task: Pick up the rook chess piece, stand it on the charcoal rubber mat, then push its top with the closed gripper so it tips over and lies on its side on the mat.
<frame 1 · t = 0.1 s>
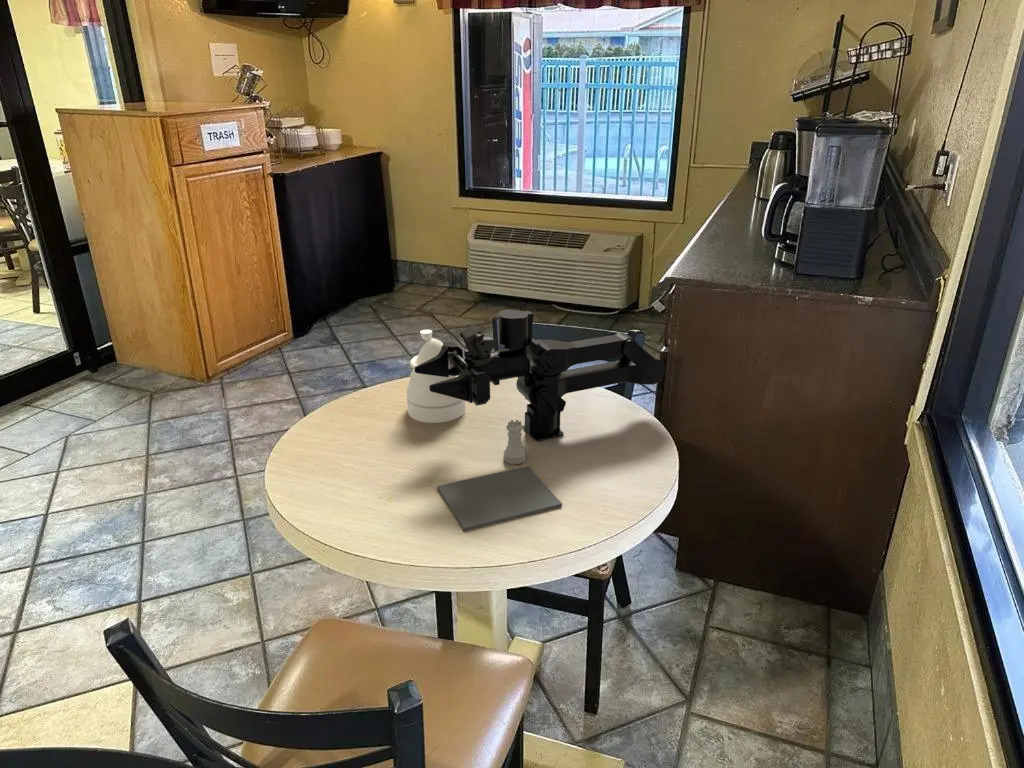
hand: (421, 378, 133), 17 cm above the table, tool horizontal, fingers open, 9 cm apart
honey pot: (436, 410, 159), on the table
rubber mat: (498, 497, 126), on the table
rook chess piece: (514, 460, 139), on the table
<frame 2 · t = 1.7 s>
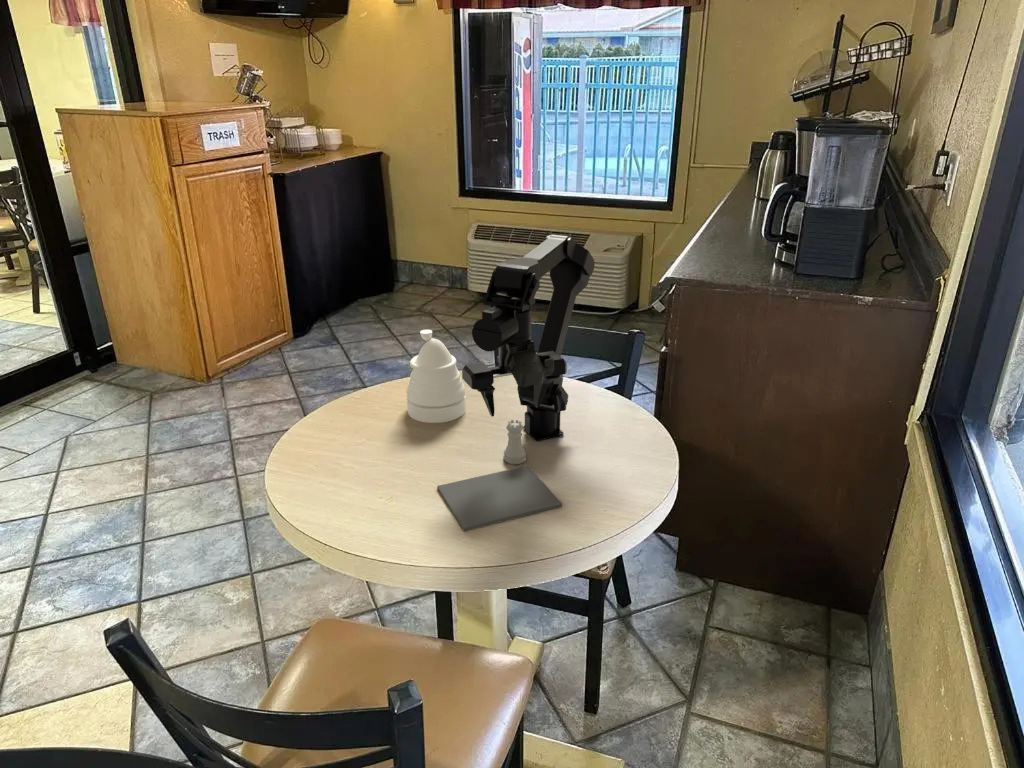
hand: (514, 411, 134), 10 cm above the table, tool pointing down, fingers open, 9 cm apart
nothing on the table moved.
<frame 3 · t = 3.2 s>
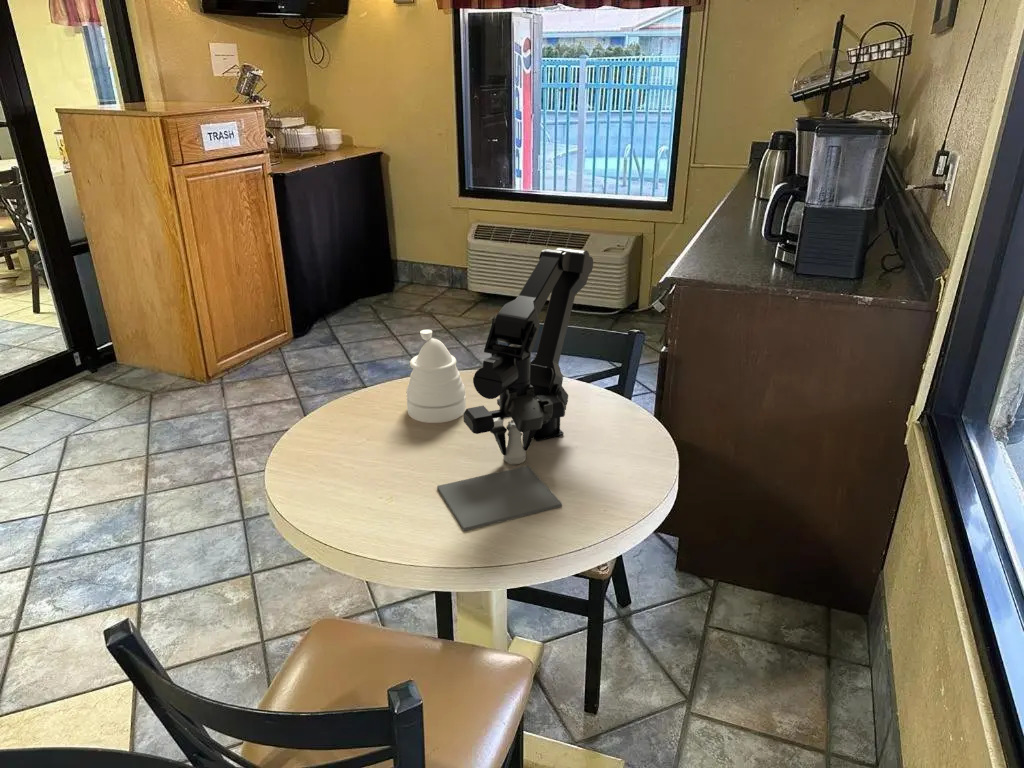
hand: (514, 452, 138), 2 cm above the table, tool pointing down, fingers closed on rook chess piece, 4 cm apart
rook chess piece: (514, 460, 139), on the table, touching gripper
everything else where it was.
when the fingers open (4 cm above the table, at t = 7.0 s): rook chess piece drops 1 cm, resting on rubber mat.
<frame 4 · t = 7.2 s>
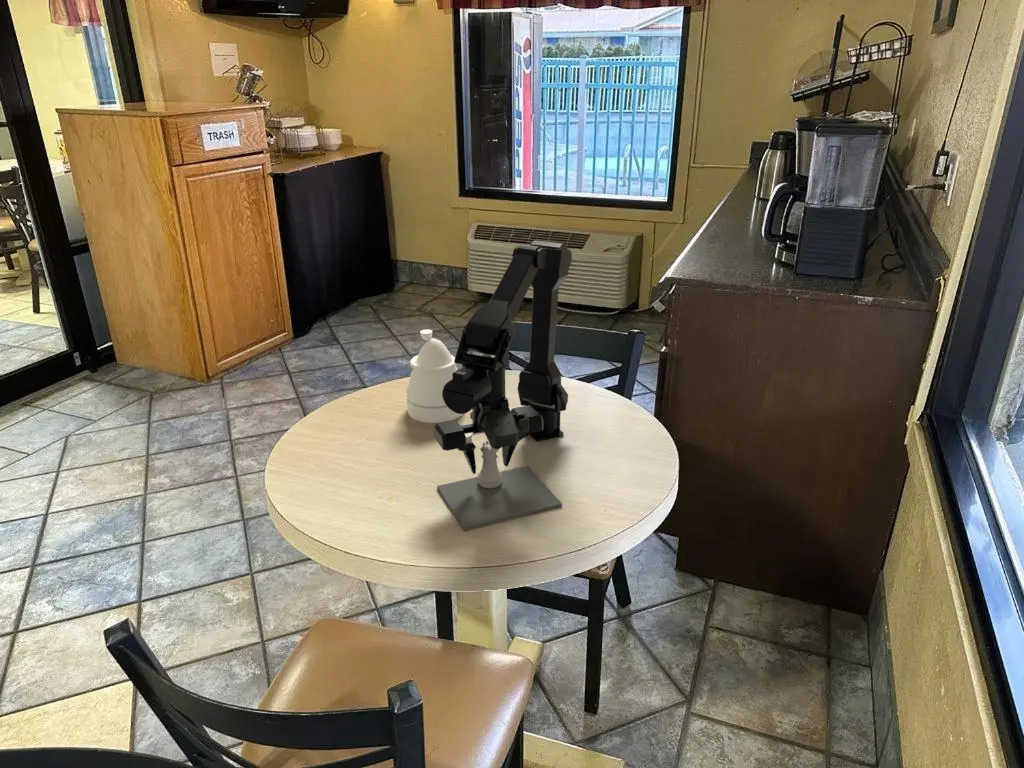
hand: (489, 469, 128), 4 cm above the table, tool pointing down, fingers open, 6 cm apart
rook chess piece: (489, 484, 130), resting on rubber mat
everything else where it was.
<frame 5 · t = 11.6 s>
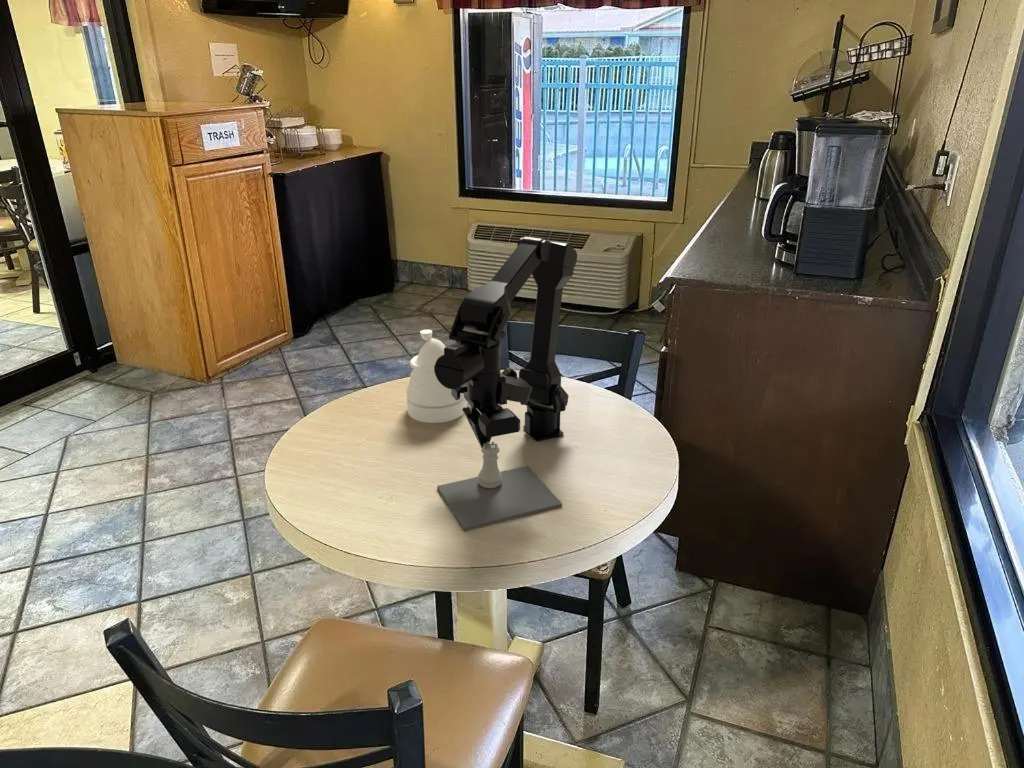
hand: (484, 448, 129), 7 cm above the table, tool pointing down, fingers closed
rook chess piece: (489, 483, 130), point 1 cm above the table, touching gripper, rubber mat
everything else where it was.
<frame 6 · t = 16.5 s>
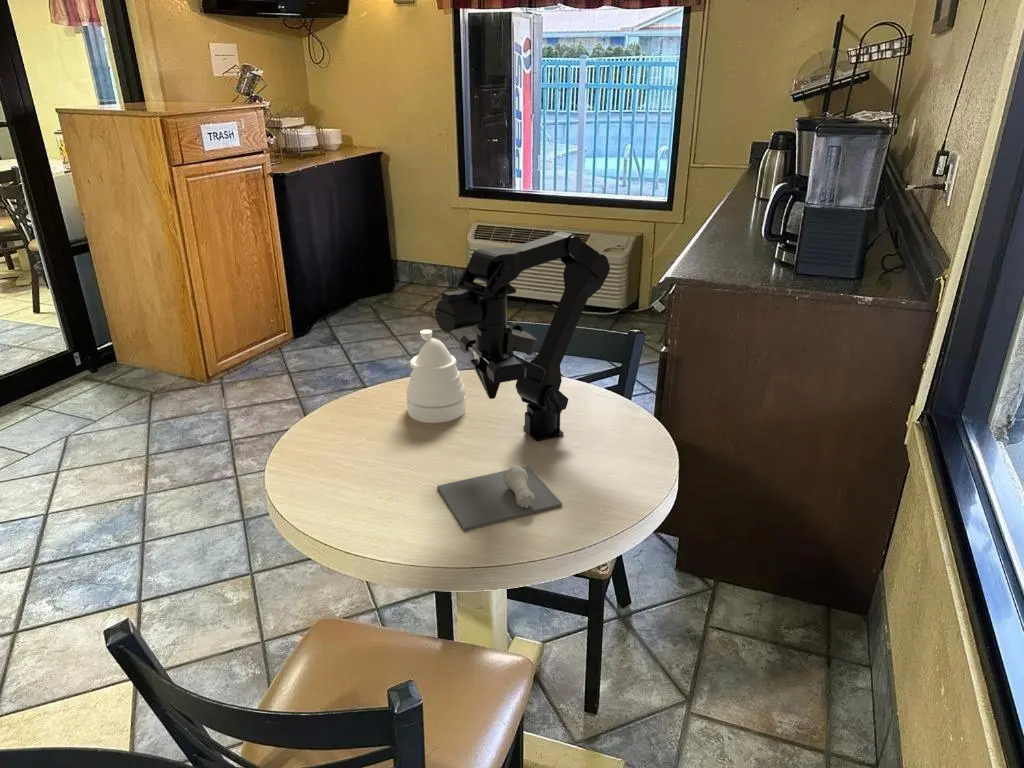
hand: (491, 398, 136), 12 cm above the table, tool pointing down, fingers closed
rook chess piece: (513, 474, 128), point 3 cm above the table, touching rubber mat
everything else where it was.
at the end: rook chess piece tilted 95°; rook chess piece inside the target area on the rubber mat (3.9 cm from its centre), point 2.9 cm above the rubber mat's base; the gripper is holding nothing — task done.
